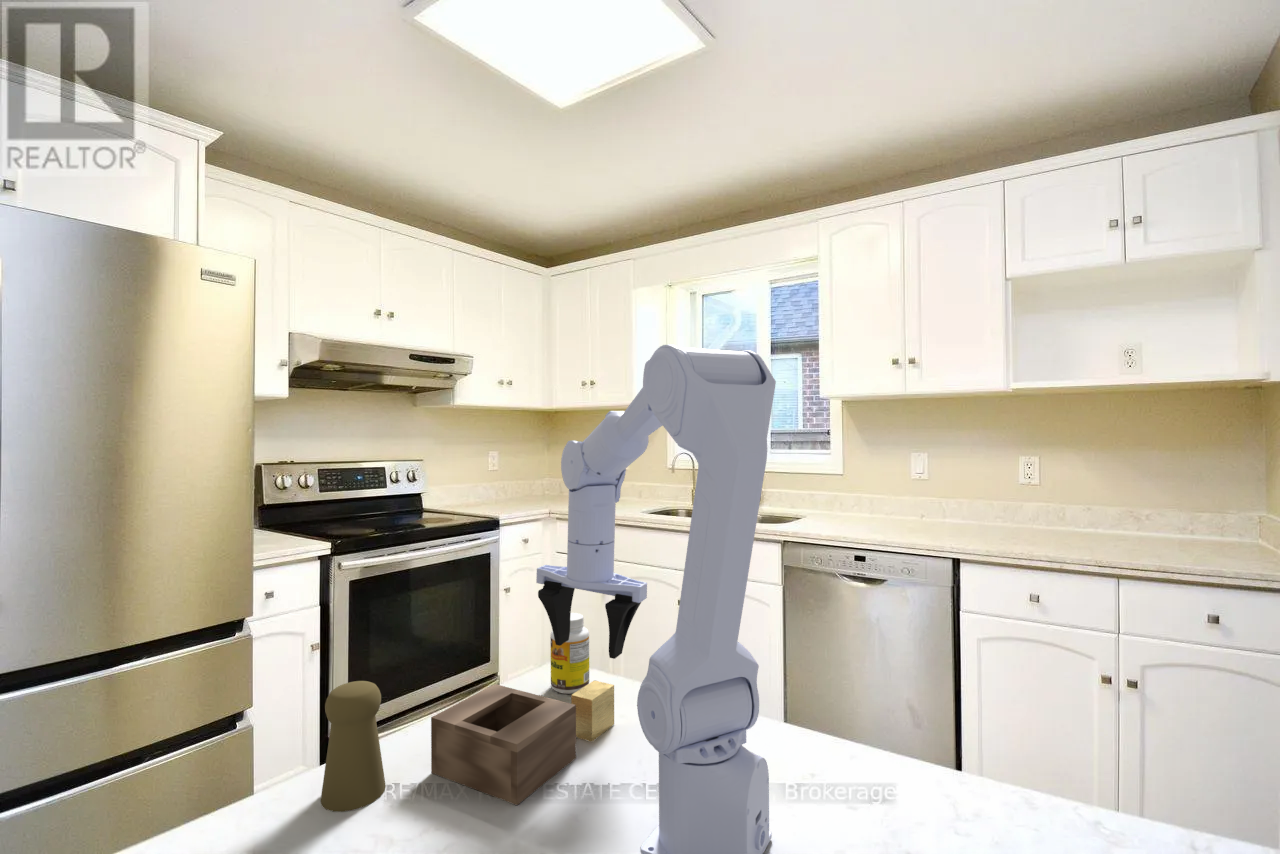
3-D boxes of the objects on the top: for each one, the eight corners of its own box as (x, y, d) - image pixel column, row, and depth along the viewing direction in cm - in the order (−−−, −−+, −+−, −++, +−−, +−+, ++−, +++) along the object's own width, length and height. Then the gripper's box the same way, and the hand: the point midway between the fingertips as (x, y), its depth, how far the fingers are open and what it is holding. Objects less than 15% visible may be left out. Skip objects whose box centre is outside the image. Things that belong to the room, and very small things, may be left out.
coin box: (576, 758, 70) (575, 704, 70) (517, 805, 61) (516, 744, 61) (495, 733, 75) (495, 684, 76) (431, 773, 67) (431, 717, 67)
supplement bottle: (545, 684, 90) (544, 614, 90) (580, 676, 93) (580, 608, 93) (558, 698, 85) (558, 624, 85) (595, 690, 88) (595, 618, 88)
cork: (361, 815, 60) (360, 700, 60) (306, 807, 61) (306, 695, 61) (397, 780, 65) (397, 676, 66) (347, 774, 67) (347, 672, 67)
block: (614, 724, 78) (614, 684, 78) (592, 742, 73) (592, 700, 73) (594, 719, 79) (594, 680, 79) (571, 736, 75) (571, 694, 75)
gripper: (658, 540, 76) (655, 649, 76) (559, 526, 82) (556, 626, 83) (633, 553, 69) (629, 671, 70) (527, 536, 76) (525, 645, 76)
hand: (588, 648), depth 76 cm, fingers open, 7 cm apart
